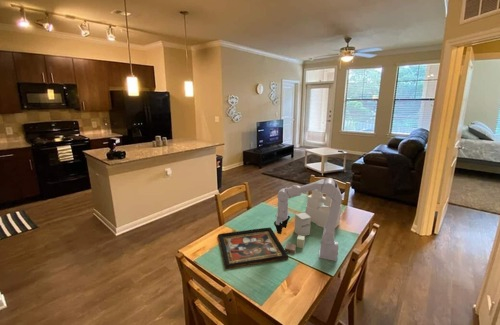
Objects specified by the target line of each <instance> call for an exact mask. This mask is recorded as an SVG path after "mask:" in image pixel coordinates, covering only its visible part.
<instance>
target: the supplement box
mask: <svg viewBox="0 0 500 325" xmlns="http://www.w3.org/2000/svg"><path fill="white" fill-rule="evenodd" d="M311 223H312V222H311V217H310V216H309V215H307V214H306V213H305V212H301V213H296V214H295V216H294V230H293V231H294V232H295V234H297V236H298V235H300V236H305V237H306V236H309V235H310V234H311V233H310V232H311Z"/></svg>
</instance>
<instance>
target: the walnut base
mask: <svg viewBox="0 0 500 325" xmlns="http://www.w3.org/2000/svg"><path fill="white" fill-rule="evenodd" d="M284 250H285V251H286V253H289V254H296V250H297V244H295V243H294V244H293V243H289V242H287V243H286V244H285V247H284Z"/></svg>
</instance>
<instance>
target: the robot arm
mask: <svg viewBox="0 0 500 325" xmlns="http://www.w3.org/2000/svg"><path fill="white" fill-rule="evenodd" d="M312 190H318V191H320V192H321V191H323V194H324V193H325V194H324V195H325V196H326V195H328V196H329V197H330V198H331V199H332V203H331V207H330V212H329V216H328V220H327V224H326V227H325V228H323V229H322V232H323V233H322V237H320V238H321V240H320V247H319V252H318V258H319V259H323V260H324V259H325V260H329V261H334V262H337V261H338V256H339V241H336V240H335V233H336V228H335V226H336V222H337V218H338V214H339V210H340V205H342V202H343V195H342V193H341V190H340V188H339V185H338V182H337V181H336V180H335V179H333V178H332V177H327V178H322V179H319V180H317V181H314V182H313V181H312V182H310V183H307V184H304V185H302V186H301V185H299V184H298V185H296V184H293V185H292V186H290V187H285V188H284V187H283V188H281V189H280V190H279V191H278V193H277V194H276V196H277V197H276V198H277V213H276V214H275V217H276V220H275V221H274V222H273V225H274V227H275V228H276V229H275V230H276V233H277V234H279V235H281V234H282V232H283V228H285V229H287V226H288V222H289V220H290V218H291V216H290V215H289V213H290V212H289V210H288V208H289V199H292V198H295V197H300V196H301V195H302V193H306V192H312Z"/></svg>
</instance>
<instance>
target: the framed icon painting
mask: <svg viewBox="0 0 500 325" xmlns="http://www.w3.org/2000/svg"><path fill="white" fill-rule="evenodd" d="M217 237H218V242H219V246H220V249H221V255H222V260H223V265H224V268H225V269H226V270H227V269H233V268H240V267H245V266H252V265H256V264H264V263H269V262H275V261H276V262H277V261H283V260H288V259H289V255H288V252H286V251H285V247H284V246H283V245H282V244H281V241H280V240H279V238H278V237H277V235H276V233H275V231H274V230H273V229H272V228H271V227H263V228H255V229H254V228H253V229H247V230H239V231H232V232H224V233H218V235H217Z"/></svg>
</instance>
